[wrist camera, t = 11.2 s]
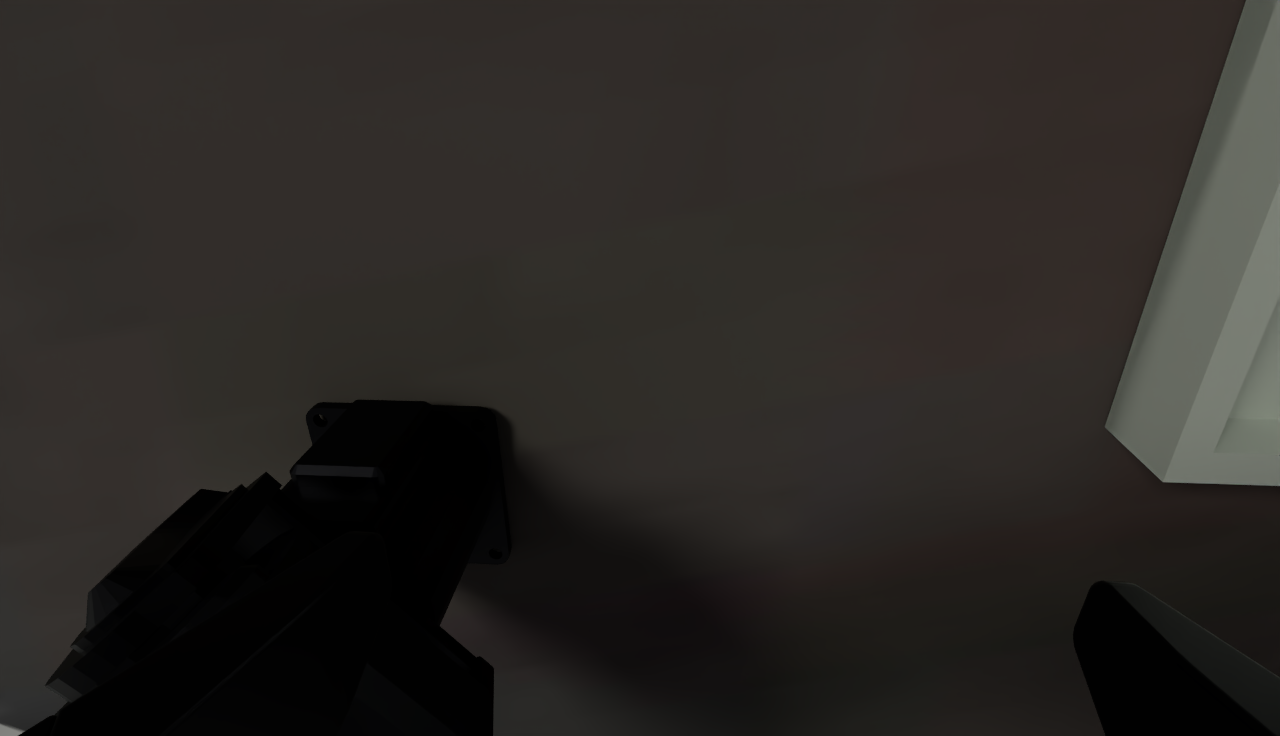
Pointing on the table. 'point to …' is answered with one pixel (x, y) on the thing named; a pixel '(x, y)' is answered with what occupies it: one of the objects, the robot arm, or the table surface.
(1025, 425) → the table surface
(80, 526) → the table surface
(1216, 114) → the tray
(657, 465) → the table surface
